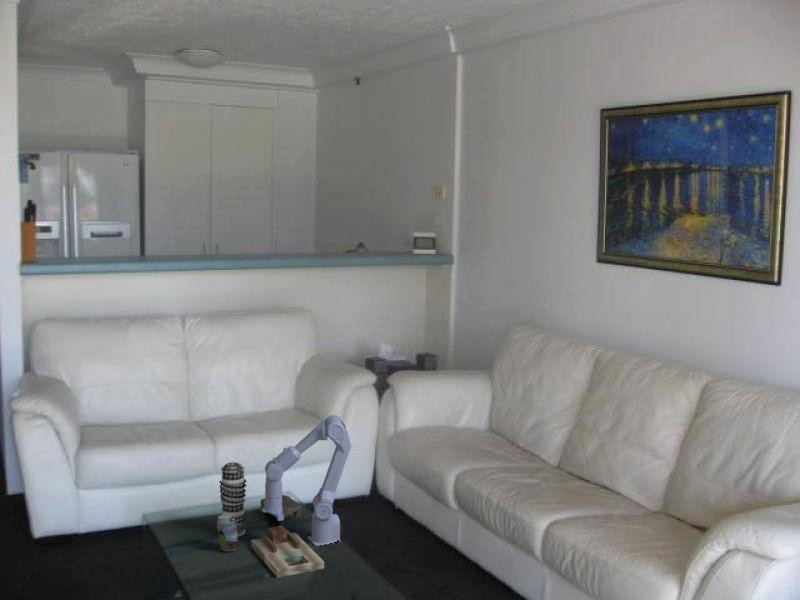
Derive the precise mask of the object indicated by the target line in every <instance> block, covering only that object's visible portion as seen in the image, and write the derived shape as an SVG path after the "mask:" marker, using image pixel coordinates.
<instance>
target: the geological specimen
mask: <svg viewBox="0 0 800 600" xmlns="http://www.w3.org/2000/svg"><path fill="white" fill-rule="evenodd" d="M264 501H265V497H264V498H262V499H260V507H261V508H260V512H261V513H262V514H263V515H264V513H266V512H263V511H262V508H265V507H264ZM282 508H283V515H284V520H286V519H288V518H301V516H302V515H301V513H302V505H301V504H300V503H298V502H297V501H295V499H293V498H291V496H289V495H285V494H282Z"/></svg>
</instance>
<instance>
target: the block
mask: <svg viewBox="0 0 800 600" xmlns="http://www.w3.org/2000/svg"><path fill="white" fill-rule="evenodd" d="M267 529H268V530H267V531H268V532H267V536H268V537H269V539H270V540H271V541H272V542H273V543H274V544H279V543H285V542H287V530H288V529H286V528H285V527H284V526H283V525H279V526H277V527H271V528H269V527H268V528H267Z"/></svg>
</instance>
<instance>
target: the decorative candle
mask: <svg viewBox="0 0 800 600" xmlns="http://www.w3.org/2000/svg"><path fill="white" fill-rule="evenodd" d="M220 471H221V472H222V473H221V480H219V483H220V484H219V489H220V490H219V492H220V496H219V497H220V503H221V504H222V505H221V506H222V507H221V513H220V516H221V515H224V514H232V515H233V517H234V518H235V524H236V531H237V538H238V537H241V536H244V535H245V533H246V522H245V520H246V513H245V505H244V504H245V502H246V499H245V497H246V493H247V490H246V487H247V484H246V483H247V479H245V473H244V472H245V467H244V466H243V465H242V464H241V463H239V462H232V461H231V462H227V463H225V464H224V466H223V467H221V468H220Z"/></svg>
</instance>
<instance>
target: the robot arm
mask: <svg viewBox="0 0 800 600" xmlns="http://www.w3.org/2000/svg"><path fill="white" fill-rule="evenodd" d="M346 427H347V426H346V424H345V423H344V421H343V420H342V419H341V417H340V416H339V415H336V414H331V415H329V416H327V417H326V418H325V420H324V419H323V420H322V421H321V422H319V423H318V425H316V426H315V427H314V428H313V429H312V430H310V431H309V433H307V435H306V436H304V437H303V438H302V439H301V440H300V441H299V442H298V443H297V444H296V445H289V446H287V447H286V446H285V447H284V448H282V452H281V453H280V454H278V455H277V456H276V457H272V459H271V460H269V461H268V462H267V463H266V464H265V467H264V471H265V476H266V477H265V484H264V487H265V492H264V495H265V496H264V498H265V501H264V507H265V508H262V511H263V512H266V513H264V514H263V515H264V517H265V519H266V523H267V526H268V528H271V527H277V526H280V523H281V522H282V521H284V520H285V519H284V515H283V508H282V495H283V482H282V479H283V476H284V472H286V471H288V470H290V468H291V467H293V465H295V464H296V463H297V462H299V461H300V460H301V457H302V456H301V455H302V454H303V453H304V452H306V451H307V450H308V449H310V447H312V446H313V445H314V444H315V443H317V442H319V441H329V439H330V440H331V441H332V442H333V443H334V445H335V448H334V452H333V454H332V456H331V460H330V462H329V466H328V468H327V471H326V474H325V477H324V480H323V483H322V485H321V487H320V488H319V490H318V493H317V494H316V495H315V496H314V497H313V499H312V506H313V509H314V510H313V511H314V512H312V514H311V536H310V535H309V536H307V538H306V539H308V541H310V542H311V543H312V544H313V545H314V546H315V547H319V546H320V545H321V546H325V544H326V545H331V544H330V543H332V544H335V543H334V542H337V540H339V541H340V542H339V543H341V542H342V541H341V521H340V518H339V517H340V516H338V514H336V513H333V511H334V509H333V505H334V502H335V501H334V500H335V493H336V491H337V488H338V485H339V482H340V479H341V477H342V473H343V471H344V468H345V465H346V462H347V460H348V456H349V453H350V451H351V449H352V443H351V440H350V437H349V432H348V429H347V428H346ZM321 546H320V547H321Z"/></svg>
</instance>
